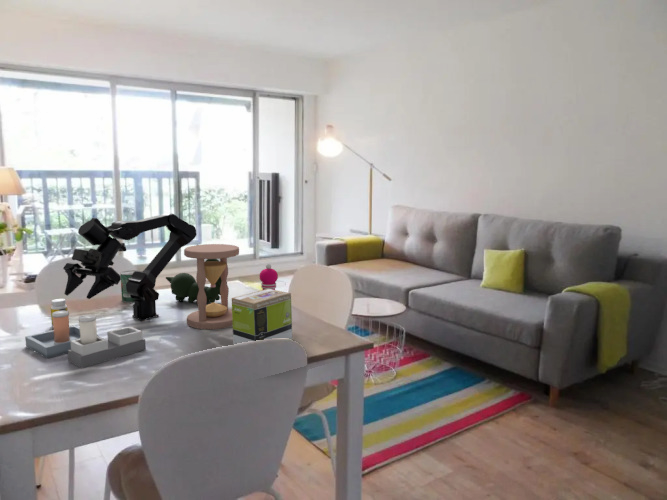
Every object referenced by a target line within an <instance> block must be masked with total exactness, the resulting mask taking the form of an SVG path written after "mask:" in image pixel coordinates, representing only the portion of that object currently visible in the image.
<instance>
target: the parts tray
mask: <svg viewBox="0 0 667 500" xmlns="http://www.w3.org/2000/svg"><path fill="white" fill-rule="evenodd" d="M69 330H70V340H71V341H72V340H76V339H80V328H79V325H71V326H70V325H69ZM97 336H99V335H98V334H97ZM24 338H25V347H26V348H28V349H29V350H31V351H33V352H35V353H36V354H38V355H41V357H43V358H45V359H51V358H54V357H57V356H61V355H65V354H68V350H71V342H70V341H67V342H63V343H58V344H54V329H53V330H48V331H45V332H40V333H34V334H29V335H27V336H25V337H24Z"/></svg>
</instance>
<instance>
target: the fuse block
mask: <svg viewBox="0 0 667 500" xmlns="http://www.w3.org/2000/svg"><path fill="white" fill-rule="evenodd" d="M106 333H107V339H106V338H103V337H101V336H99V335H98V336H97V342H94V343H90V344H86V345H83V344H81V342H80V339H76V340H72V341H70V342H71V350H68V353H67V355H68V356H67V357H68V362H69V363H72V364H73V365H74V366H76V367H78V368H80V369H84V368H86V367H91V366H94V365H97V364H100V363H104V362H107V361H111V360H114V359H117V358H121V357H125V356H127V355H132V354H134V353H135V354H136V353H138V352H141V351H144V350H146V347H147V346H146V345H147V344H146V339H145V338H143V330H139V328H138V329H137V328H135V327H132V326H126V327H122V328H117V329H113V330H110V331H109V330H108V331H107V332H106Z"/></svg>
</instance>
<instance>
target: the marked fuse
mask: <svg viewBox="0 0 667 500" xmlns="http://www.w3.org/2000/svg"><path fill="white" fill-rule="evenodd" d="M69 316H70V311H69V310H68V311H56V312H53V313H52V317H53V326H52V328H53V330H54V344H58V343H63V342H67V341H71V340H70V330H69V327H70V321H69V320H70V317H69Z"/></svg>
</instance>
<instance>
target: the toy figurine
mask: <svg viewBox="0 0 667 500" xmlns="http://www.w3.org/2000/svg"><path fill="white" fill-rule="evenodd" d="M208 261H220V259H205V260H204V262H208ZM195 278H196V277H194V276H193V275H192V274H190V273H187V272H180V273H178V274H176V275H174V276H166V277H165V279H166V280H167V282H169V284H170V289H171V294H172V295H175V300H176V302H183V301H185V299H186V298H187V301H188V302H189V303H190V304H192V303H194V302H195V301H197V296H198V292H199V287H198V284H197V281H196V279H195ZM221 283H222V280H221V277H219V279H218V280H217V282H216V283H215V285H216V287H210V286H207V285H205V287H204V291H205V294H206V297H207V302H206V303H208V302H210V304H211V303H213V302H214V303H216V301H219V300H221V295H220V287H221Z"/></svg>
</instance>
